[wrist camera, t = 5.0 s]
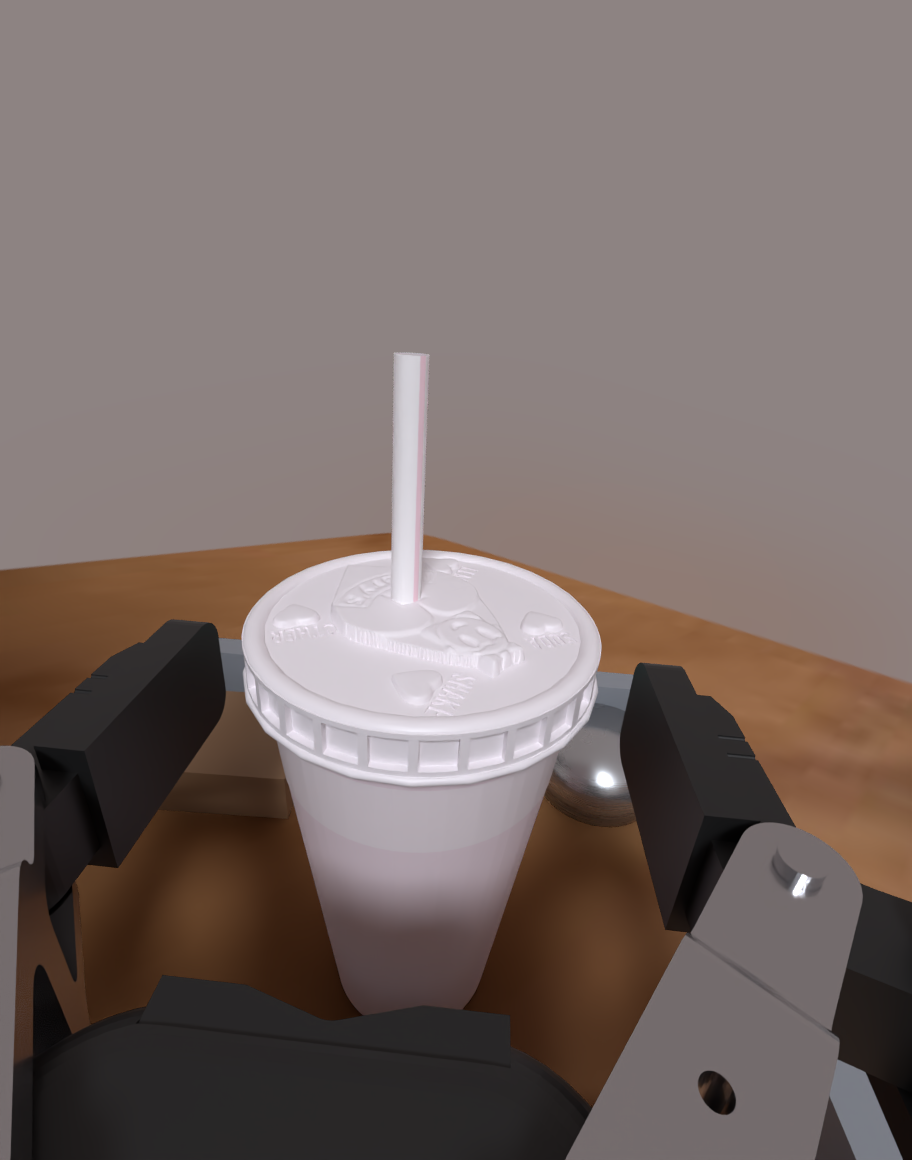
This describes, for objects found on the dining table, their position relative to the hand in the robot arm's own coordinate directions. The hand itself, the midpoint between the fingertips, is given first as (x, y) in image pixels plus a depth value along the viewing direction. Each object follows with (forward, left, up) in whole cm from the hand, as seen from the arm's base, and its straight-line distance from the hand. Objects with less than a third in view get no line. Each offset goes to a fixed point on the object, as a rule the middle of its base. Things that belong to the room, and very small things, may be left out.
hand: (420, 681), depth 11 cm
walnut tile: (-7, +6, -9) cm, 12 cm away
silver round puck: (+6, +7, -8) cm, 12 cm away
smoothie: (0, 0, -8) cm, 8 cm away
